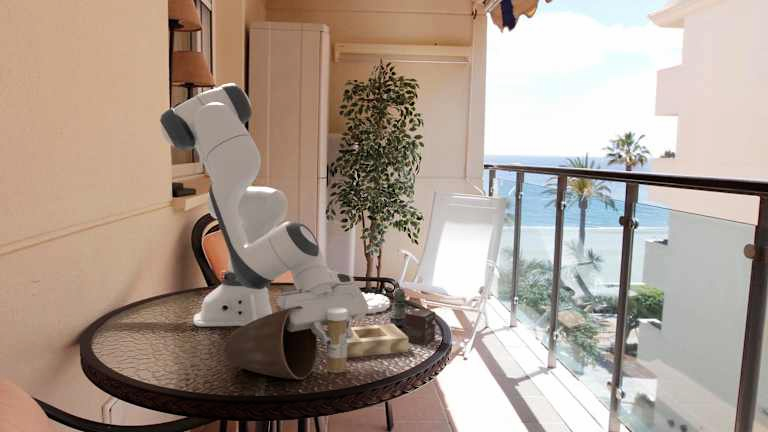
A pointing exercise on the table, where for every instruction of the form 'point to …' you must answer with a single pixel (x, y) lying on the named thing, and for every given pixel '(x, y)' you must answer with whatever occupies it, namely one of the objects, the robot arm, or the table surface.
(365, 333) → the holder
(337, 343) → the sprinkles bottle
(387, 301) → the embossed medallion
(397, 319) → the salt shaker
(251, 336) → the plant pot
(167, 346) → the table surface
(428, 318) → the box
